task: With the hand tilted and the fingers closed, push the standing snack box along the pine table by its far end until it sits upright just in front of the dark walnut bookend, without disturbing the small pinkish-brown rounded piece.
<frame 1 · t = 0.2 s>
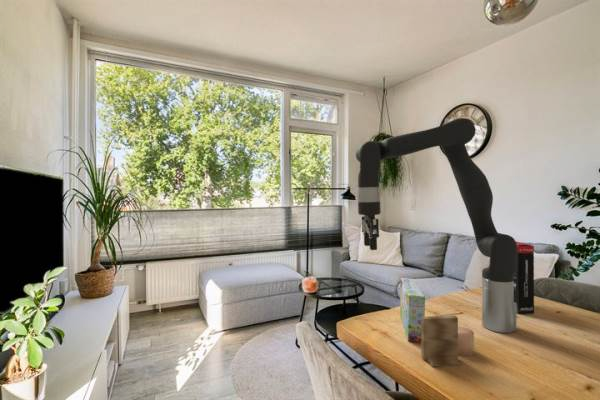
hand: (370, 247, 103), 29 cm above the table, tool pointing down, fingers open, 8 cm apart
snack box: (411, 328, 106), on the table
graphics card box: (511, 306, 124), on the table
walnut bookend: (438, 357, 87), on the table
pinkish-brown rounded piece: (462, 350, 90), on the table
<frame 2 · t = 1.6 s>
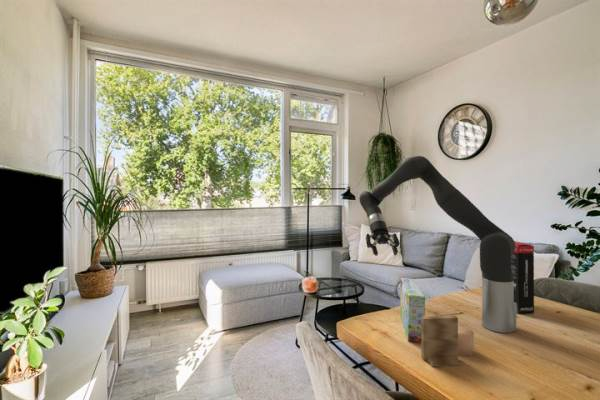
hand: (386, 254, 129), 21 cm above the table, tool tilted 45°, fingers open, 8 cm apart
nothing on the table moved.
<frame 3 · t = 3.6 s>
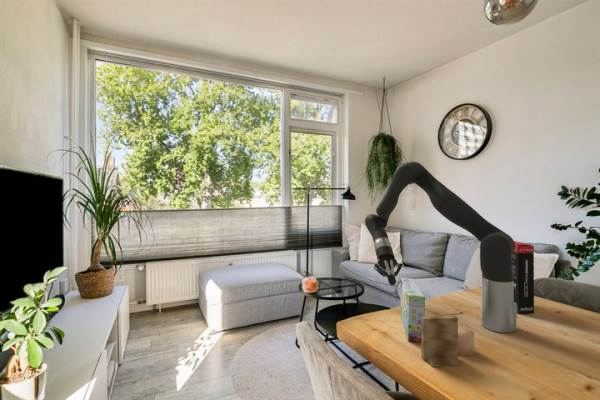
hand: (393, 284, 124), 10 cm above the table, tool tilted 45°, fingers closed
nothing on the table moved.
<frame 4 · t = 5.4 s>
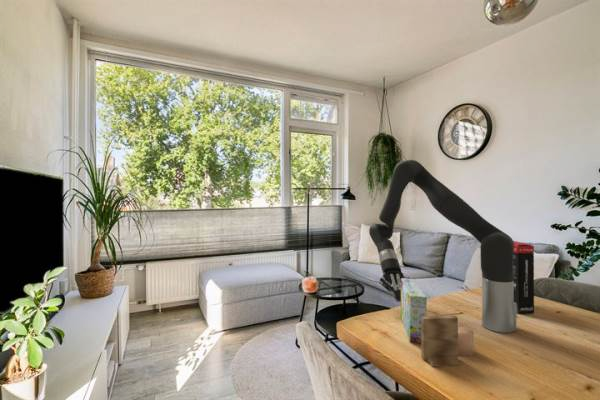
hand: (400, 300, 116), 6 cm above the table, tool tilted 45°, fingers closed
snack box: (412, 329, 105), on the table, touching gripper
everything else where it was.
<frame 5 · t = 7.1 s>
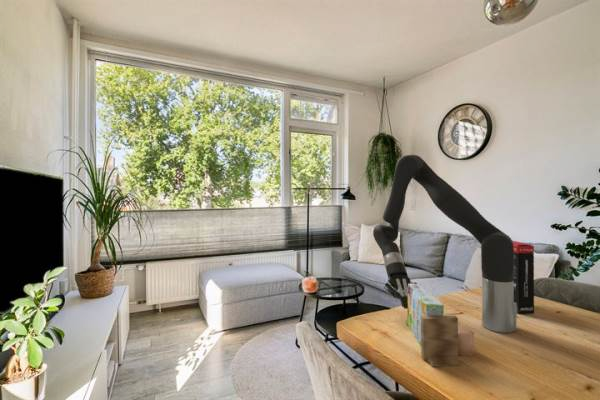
hand: (406, 307, 109), 6 cm above the table, tool tilted 45°, fingers closed
snack box: (423, 338, 98), on the table, touching gripper
everything else where it was.
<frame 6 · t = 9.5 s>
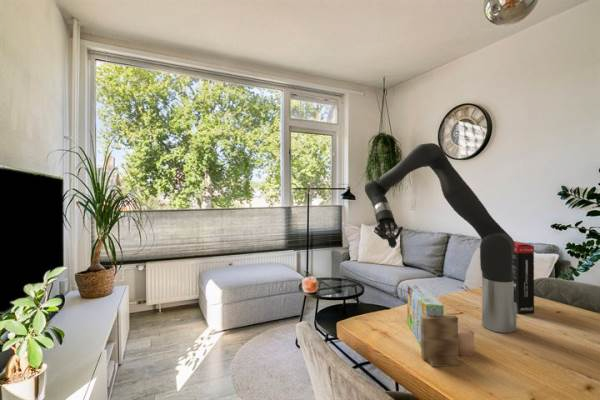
hand: (393, 246, 123), 26 cm above the table, tool tilted 45°, fingers closed
snack box: (423, 338, 98), on the table
everything else where it was.
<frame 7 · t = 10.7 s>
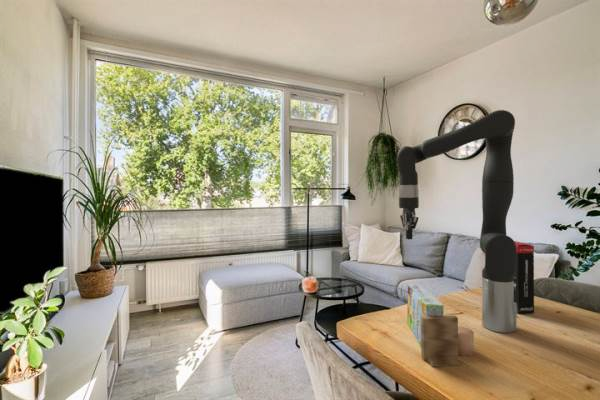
hand: (409, 239, 121), 29 cm above the table, tool pointing down, fingers closed
nothing on the table moved.
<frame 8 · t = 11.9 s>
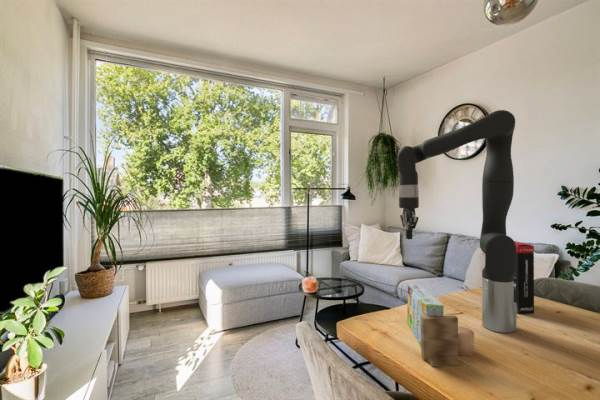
hand: (409, 238, 121), 29 cm above the table, tool pointing down, fingers closed
nothing on the table moved.
at the end: snack box inside the target area (1.0 cm from its centre), on the table; snack box tilted 0°; pinkish-brown rounded piece moved 0.0 cm from its start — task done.
